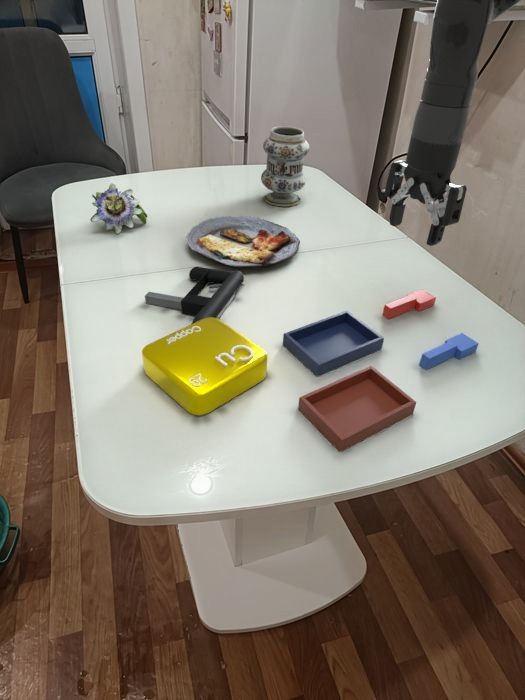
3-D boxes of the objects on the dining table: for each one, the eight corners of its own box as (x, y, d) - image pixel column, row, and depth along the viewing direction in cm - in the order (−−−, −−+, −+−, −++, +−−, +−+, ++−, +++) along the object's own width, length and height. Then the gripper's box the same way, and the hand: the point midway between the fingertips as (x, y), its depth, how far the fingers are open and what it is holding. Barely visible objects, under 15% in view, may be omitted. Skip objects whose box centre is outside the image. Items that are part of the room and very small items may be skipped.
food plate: (317, 246, 118) (319, 232, 116) (256, 286, 103) (256, 271, 101) (233, 216, 129) (233, 203, 127) (167, 248, 114) (166, 234, 112)
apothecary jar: (305, 209, 134) (312, 138, 123) (259, 207, 134) (262, 136, 123) (303, 192, 144) (309, 125, 133) (260, 190, 144) (263, 122, 133)
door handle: (127, 308, 91) (210, 323, 86) (178, 259, 106) (250, 269, 101) (130, 323, 93) (211, 339, 88) (180, 273, 108) (251, 284, 103)
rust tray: (368, 376, 82) (371, 365, 81) (413, 413, 76) (416, 402, 74) (297, 408, 76) (299, 397, 74) (339, 452, 70) (342, 440, 68)
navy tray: (345, 321, 94) (347, 310, 93) (381, 349, 88) (384, 337, 87) (282, 344, 88) (283, 333, 87) (317, 376, 82) (318, 365, 80)
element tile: (212, 333, 90) (212, 311, 87) (271, 376, 81) (273, 352, 78) (139, 369, 81) (135, 346, 78) (196, 421, 73) (195, 396, 70)
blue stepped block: (459, 340, 91) (463, 329, 89) (475, 351, 89) (480, 340, 87) (414, 361, 86) (417, 350, 84) (430, 373, 83) (434, 362, 82)
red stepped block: (420, 296, 102) (423, 286, 101) (434, 305, 100) (437, 294, 98) (378, 312, 97) (380, 301, 96) (392, 322, 95) (394, 311, 93)
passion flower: (121, 253, 123) (86, 222, 113) (113, 227, 129) (78, 196, 120) (158, 226, 121) (125, 192, 111) (148, 200, 127) (115, 166, 118)
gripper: (492, 144, 74) (460, 246, 84) (419, 120, 83) (399, 214, 93) (457, 151, 70) (429, 257, 80) (385, 125, 80) (368, 222, 90)
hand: (413, 234), depth 87 cm, fingers open, 8 cm apart
